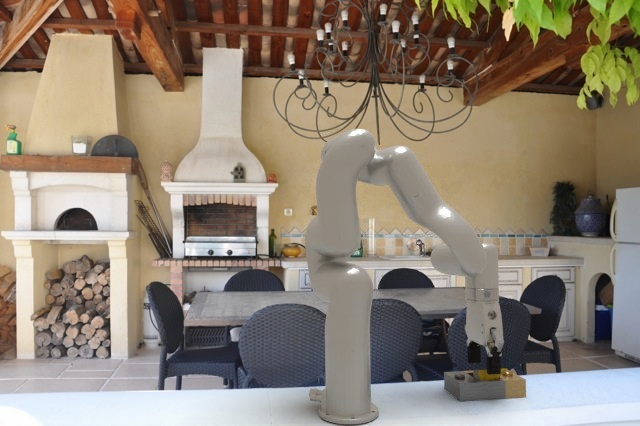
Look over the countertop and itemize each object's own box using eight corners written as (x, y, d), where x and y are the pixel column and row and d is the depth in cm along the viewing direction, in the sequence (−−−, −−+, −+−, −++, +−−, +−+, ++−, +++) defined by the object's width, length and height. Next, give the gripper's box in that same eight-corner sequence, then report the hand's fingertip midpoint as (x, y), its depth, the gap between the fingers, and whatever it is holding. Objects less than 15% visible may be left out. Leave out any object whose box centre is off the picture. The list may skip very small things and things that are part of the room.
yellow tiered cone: (476, 389, 122) (513, 372, 119) (475, 402, 117) (514, 384, 114) (463, 371, 122) (499, 353, 119) (462, 383, 117) (500, 364, 114)
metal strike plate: (460, 401, 113) (459, 380, 113) (444, 388, 122) (443, 369, 122) (526, 397, 116) (525, 376, 116) (505, 385, 125) (505, 366, 125)
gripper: (516, 299, 112) (518, 377, 111) (480, 290, 129) (481, 358, 128) (484, 300, 110) (486, 379, 110) (452, 291, 128) (453, 359, 127)
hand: (483, 368), depth 119 cm, fingers open, 9 cm apart
